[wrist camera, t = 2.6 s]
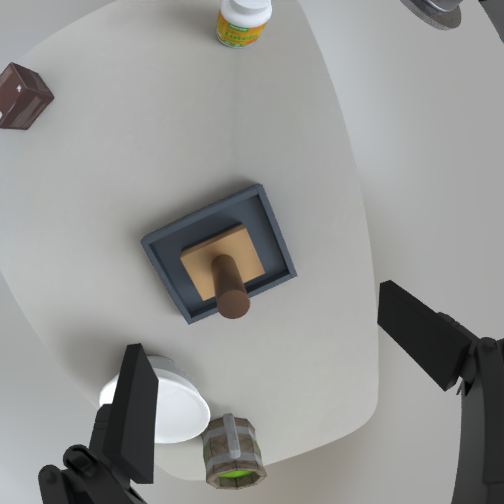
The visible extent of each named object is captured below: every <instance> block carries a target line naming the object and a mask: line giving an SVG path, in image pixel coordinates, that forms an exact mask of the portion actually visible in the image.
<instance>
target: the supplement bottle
mask: <svg viewBox="0 0 504 504" xmlns="http://www.w3.org/2000/svg"><path fill="white" fill-rule="evenodd" d="M270 2H271V0H223V1H222V3H221V6H220V11H219V16H218V22H217V27H216V34H217V37H218V39H219V40H220V41H221V42H222V43H223V44H225V45H227V46H229V47H233V48H244V47H248V46H250V45H252V44H253V43H254V42H255V41H256V40H257V38H258V37H259V35H260V33H261V31H262V30H263V28H264V26H265V25H266V23H267V21H268V20H269V18H270V16H271V13H272V6H271V4H270Z"/></svg>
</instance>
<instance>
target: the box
mask: <svg viewBox="0 0 504 504" xmlns="http://www.w3.org/2000/svg"><path fill="white" fill-rule="evenodd" d="M52 99H54V96H53V94H52V93H51V92H50V90H49V89H48V87H47V86H46V84H45V83H44V82H43V80H42V79H41V77H40V76H39V74H38V73H36V72H33V71H31V70H29V69H27V68H25V67H22V66H20V65H18V64H15V63H13V62H11V63H10V64H9V65H8V66H7V68H6V69H5V70H4V71H3V73H2V74H1V75H0V128H2V129H21V130H28V128H29V127H30V126H31V124H32V123H33V122H34V121H35V119H36V118H37V117H38V116H39V115H40V113H41V112H42V111H43V110H44V109H45V107H46V106H47V105H48V104H49V103H50V102H51V101H52Z"/></svg>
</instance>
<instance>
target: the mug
mask: <svg viewBox="0 0 504 504" xmlns="http://www.w3.org/2000/svg"><path fill="white" fill-rule="evenodd" d="M201 435H202V439H203V457H204V462H205V466H206V482H207V483H208V484H210V485H211V486H213V487H215V488H216V489H235V490H237V489H242V488H245V487H249V486H253V485H257V484H258V483H260V482H261V481H262V480H263V479H264V478H265V477H267V474H266V472H265V470H264V467H263V463H262V459H261V453H260V449H259V447H258V444H257V441H256V437H255V429H254V427H253V426H252V425H251V424H250V422H249V421H248V420H247V419H242V418H234V416H233V415H232V414H229V413H228V414H224V416H223V418H221V419H217V420H214V421H211V422H209V423H208V426H207V427H206V428H205V430H204V431H203V432H202V433H201Z"/></svg>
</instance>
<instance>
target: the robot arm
mask: <svg viewBox="0 0 504 504" xmlns="http://www.w3.org/2000/svg"><path fill="white" fill-rule="evenodd" d="M423 1H424V2H425V3H426V4H428V5H429V6H430V7H432V8H433V9H435V10H437V11H439V12H443V13H446V12H449V11H452V10H453V9H455V8H456V7H457V6H458V5H459V4H460V2H462V1H463V0H423ZM478 1H479V2H480V4H481V5H482V7H483V8H484V10H485V12H486V13H487V15H488V16H489V18H490V20H491V22H492V23H493V25H494V27H495V28H496V30H497V32H498V34H499V37H500V39H501V40H502V42H503V43H504V0H478ZM377 323H378V324H379V325H380V326H381V327H382V328H383V329H384V330H385V331H386V332H387V333H388V334H389V335H390V336H391V337H392V338H393V339H394V340H395V341H396V342H397V343H398V344H399V345H400V346H401V347H402V348H403V349H404V350H405V351H406V352H407V353H408V354H409V355H410V356H411V357H412V358H413V359H414V360H415V361H416V362H417V363H418V364H419V365H420V366H421V367H422V368H423V370H424V371H425V372H427V374H428V375H429V376H430V377H431V378H432V379H433V380H434V381H435V382H436V383H437V384H438V385H439V386H440V387H441V388H442V389H443V390H444V391H447V390H448V389H450V388H451V387H452V386H454V385H455V384H456V382H457V380H458V377H459V376H460V377H462V378H463V380H462V382H461V384H460V386H459V389H458V391H457V394H456V395H458V394H459V392H460V390H461V395H462V416H461V439H460V452H459V461H458V468H457V475H456V481H455V487H454V493H453V498H452V502H451V504H504V338H503V339H500V340H497V341H496V340H495V339H492V338H489V337H484V338H481V339H479V338H478V337H477V336H475V335H474V334H473V333H471V332H470V331H469V330H467V329H466V328H465V327H464V326H462V325H460V323H458V322H457V321H455V320H454V319H453V318H451V317H450V316H449V315H447V314H444V313H441V312H439V313H435V312H434V311H433V310H432V309H430V308H429V307H428V306H426V305H424V304H423V303H422V302H421V301H419V300H418V299H417V298H415V297H414V296H412V295H411V294H410V293H408V292H407V291H405V290H404V289H402V288H401V287H400V286H398V285H397V284H396V283H394V282H393V281H391V280H389V281H386V282H383V283H380V292H379V308H378V320H377ZM158 386H159V380H158V378H157V376H156V374H155V372H154V370H153V368H152V366H151V364H150V362H149V360H148V358H147V356H146V354H145V352H144V349H143V347H142V345H141V343H138V344H132V345H127V348H126V352H125V355H124V359H123V362H122V366H121V369H120V373H119V377H118V381H117V385H116V389H115V393H114V397H113V401H112V403H109V404H103V405H102V406H101V408H100V409H99V410H98V412H97V415H96V419H95V423H94V427H93V428H94V430H93V432H92V436H91V440H90V445H89V449H88V448H87V447H86V446H84V445H81V444H80V445H73V446H71V447H69V448H68V449H67V450H66V452H65V454H64V456H63V463H64V465H65V466H66V467H67V468H68V469H66V470H60V469H59V468H57V467H56V466H54V465H46V466H44V467H43V468H42V469H41V470H40V472H39V475H38V480H39V486H40V491H41V496H42V500H43V504H147V503H146V502H145V501H144V500H143V499H142V498H141V496H140V495H139V494H138V493H137V492H136V491H135V490H134V489H133V488H132V487H131V486H130V478H131V479H132V480H133V481H134V482H135V483H137V484H153V471H154V441H155V423H156V409H157V397H158Z"/></svg>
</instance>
